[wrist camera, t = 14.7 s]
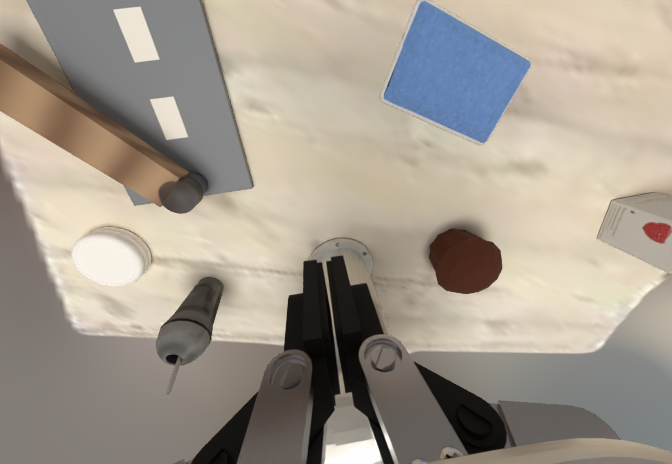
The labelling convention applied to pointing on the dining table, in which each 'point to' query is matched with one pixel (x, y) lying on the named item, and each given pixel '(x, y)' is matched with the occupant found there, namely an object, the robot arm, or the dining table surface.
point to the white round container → (111, 256)
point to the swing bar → (92, 135)
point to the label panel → (152, 80)
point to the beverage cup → (190, 326)
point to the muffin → (464, 261)
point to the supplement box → (641, 228)
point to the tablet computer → (452, 74)
